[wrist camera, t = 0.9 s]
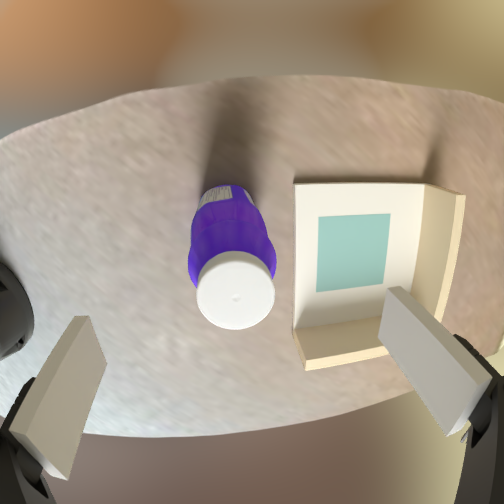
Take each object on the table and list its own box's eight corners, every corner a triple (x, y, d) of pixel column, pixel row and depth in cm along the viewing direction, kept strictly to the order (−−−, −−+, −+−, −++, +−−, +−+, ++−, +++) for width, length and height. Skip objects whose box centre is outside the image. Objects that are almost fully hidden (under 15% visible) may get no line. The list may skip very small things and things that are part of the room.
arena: (292, 334, 38) (305, 370, 31) (292, 183, 31) (312, 195, 24) (409, 314, 39) (434, 341, 32) (429, 183, 32) (465, 195, 26)
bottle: (194, 186, 30) (163, 241, 14) (249, 177, 30) (284, 222, 14) (206, 252, 32) (197, 361, 16) (258, 244, 33) (295, 345, 16)
